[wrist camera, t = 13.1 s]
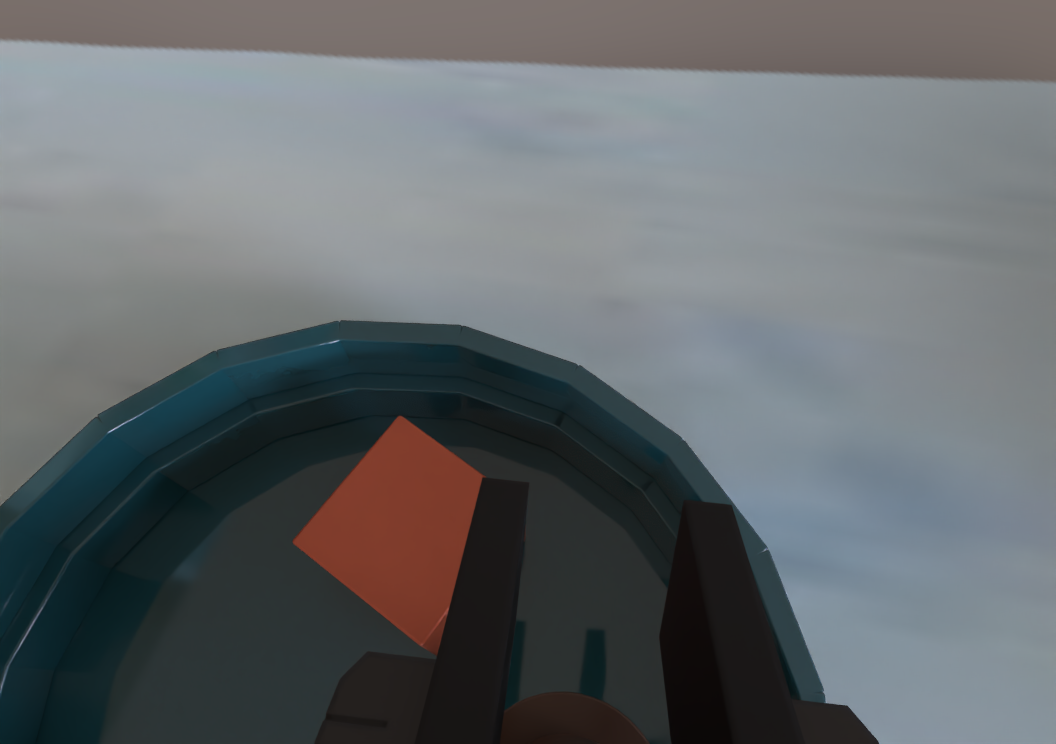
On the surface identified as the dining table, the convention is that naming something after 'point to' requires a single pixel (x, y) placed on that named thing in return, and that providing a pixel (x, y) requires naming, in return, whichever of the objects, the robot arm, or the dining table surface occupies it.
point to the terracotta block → (399, 530)
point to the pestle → (567, 721)
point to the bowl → (301, 583)
